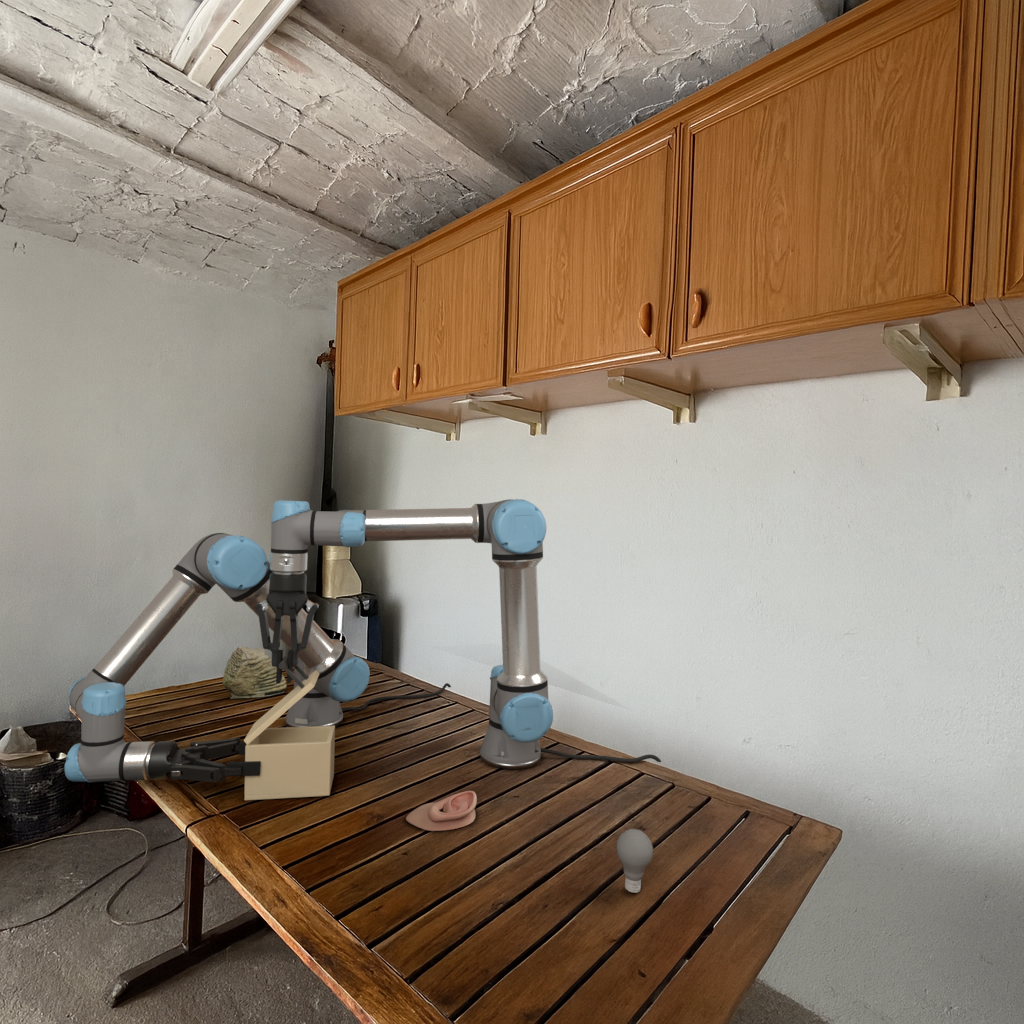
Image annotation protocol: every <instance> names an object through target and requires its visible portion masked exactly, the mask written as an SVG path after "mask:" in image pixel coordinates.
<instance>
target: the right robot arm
mask: <svg viewBox="0 0 1024 1024" xmlns="http://www.w3.org/2000/svg"><path fill="white" fill-rule="evenodd" d="M271 515H272V516H271V520H270V524H271V525H270V526H271V527H270V528H271V529H270V533H271V534H270V540H271V541H270V555H269V556H270V559H269V563H270V570H271V571H273V573H271V574H270V581H269V594H268V596H267V598H266V600H264V601H262V602H258V603H257V604H256V605H255V606H254V608H255V610H256V611H257V613H258V615H259V617H258V621H259V629H260V635H261V643H262V649H263V650H267V651H270V652H271V659H272V667H276V668H277V670H276V683H280V682H281V680H282V675H283V669H280V668H279V663H280V662H281V661H282V659H283V658H284V649H280V648H281V631H282V622H283V617H284V616H285V615H287V616H290V623H291V648H292V650H291V649H289V650H288V652H287V654H288V664H287V667H288V669H289V670H290V671H291V672H292V673H293V674H294V672H293V671H294V667H296V666H297V664H298V654H299V650H302V649H305V648H306V647H307V645H308V641H309V636H310V631H311V627H312V622H313V621H314V617H315V613H316V612H317V610H318V609H319V606H320V604H319V603H318V602H313V601H311V600H310V599H309V596H308V593H307V581H308V580H307V579H308V577H307V574H306V573H305V572H306V571H308V557H309V555H308V554H309V553H308V550H309V549H308V548H309V546H323V547H325V546H326V547H345V548H353V547H358V548H359V547H362V546H363V545H365V542H386V541H387V542H392V541H393V542H395V541H396V542H397V541H398V542H399V541H401V542H402V541H439V540H440V541H441V540H471V541H473V542H474V543H475V544H490V545H491V561H492V562H493V563H494V564H496V565H497V567H498V573H499V575H498V577H499V602H500V620H501V621H500V623H501V624H500V625H501V627H500V628H501V650H502V654H501V655H502V664H498V665H494V666H493V667H492V668H491V670H490V677H489V681H490V685H489V686H490V687H489V688H490V689H489V708H488V711H489V712H488V725H487V729H486V732H485V734H484V737H483V740H482V742H481V745H480V751H479V757H480V759H481V761H482V762H484V763H485V764H487V765H488V766H491V767H494V768H498V769H503V770H524V769H529V768H532V767H534V766H537V765H538V764H539V763H540V762H541V760H542V753H544V754H549V755H554V756H559V757H563V758H567V759H574V760H576V759H577V760H603V761H611V762H618V763H631V764H632V763H638V762H642V761H644V760H649V759H652V760H654V761H656V762H657V763H662V760H661V759H660V757H658V756H656V755H655V754H650V753H649V754H644V755H640V756H638V757H633V758H625V757H616V756H610V755H599V754H598V755H597V754H574V753H573V754H571V753H566V752H562V751H559V750H554V749H549V748H544V747H541V745H540V741H539V740H540V739H542V738H543V737H544V736H545V735H546V734H547V733H548V732H549V731H550V729H551V728H552V725H553V722H554V711H553V710H554V709H553V706H552V703H551V702H550V701H549V681H548V675H547V674H546V673H545V672H544V671H543V670H542V669H541V643H540V642H541V641H540V617H539V592H538V591H539V589H538V588H539V587H538V565H539V564H540V563H541V562H542V560H543V559H544V544H543V543H544V541H545V537H546V535H547V521H546V518H545V516H544V514H543V512H542V511H541V510H540V509H539V508H538V507H537V505H535V504H534V503H532V502H530V501H529V500H526V499H522V498H520V499H519V498H515V499H513V498H512V499H511V498H510V499H509V498H508V499H503V500H500V501H499V500H498V501H494V502H487V503H486V502H485V503H474V504H473V505H472V506H471V507H455V508H450V507H449V508H403V509H402V508H399V509H397V508H395V509H339V510H337V511H326V510H325V511H323V510H322V511H321V510H311V508H310V503H309V502H308V501H307V500H306V501H303V500H286V499H285V500H283V499H281V500H280V499H279V500H276V501H275V502H274V503H273V505H272V514H271ZM268 604H269V606H270V607H271V609H272V610H273V611H274V613H275V626H274V632H273V635H272V641H271V634H270V628H269V625H268V618H267V612H266V610H267V609H268V607H267V605H268ZM305 606H306V612H307V618H306V623H305V627H304V632H303V637H302V641H301V643H299V633H298V613H299V612H300V610H301V609H304V607H305ZM292 681H293V679H292V678H291V677H290V676H289V675H288V674H287V673H286V684H291V683H292Z"/></svg>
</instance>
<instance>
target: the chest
mask: <svg viewBox="0 0 1024 1024" xmlns="http://www.w3.org/2000/svg"><path fill="white" fill-rule="evenodd" d="M335 741H336V727H335V726H310V727H287V726H284V727H268V728H266V729H265V730H264V731H263V732H262V733H261V734H260V735H258V736H257V737H256V738H255V739H254V740H253V741H251V742H250V743H249V744H248V745H247V744H246V746H245V755H244V762H247V761H261V766H260V775H259V776H244V796H243V797H244V798H243V800H244V801H257V800H275V799H277V800H278V799H292V798H293V799H294V798H309V797H312V798H313V797H327V796H328V797H329V796H330V795H331V790H332V786H333V781H334V777H335V750H336V749H335V747H336V746H335V745H336V742H335Z"/></svg>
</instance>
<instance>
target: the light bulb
mask: <svg viewBox="0 0 1024 1024" xmlns="http://www.w3.org/2000/svg"><path fill="white" fill-rule="evenodd" d="M615 849H616V854H617V857H618V859H619V861H620V863H621V865H622V867H623V873H624V874H623V875H624V876H625V878H624V888H625V890H627V891H628V892H630V893H634V894H635V893H639V892H640V891H641V889H642V887H641V886H642V879H643V877H644V875H645V871H646V868H647V867H648V866H649V864H650V863H651V861H652V859H653V855H654V847H653V843H652V841H651V838H649V836H648V835H647V834H646V833H645V832H643V831H642V830H641V829H636V828H629V829H627V830H625V831H623V832H622V833H621V834H620V835H619V837H618V839H617V841H616V847H615Z"/></svg>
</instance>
